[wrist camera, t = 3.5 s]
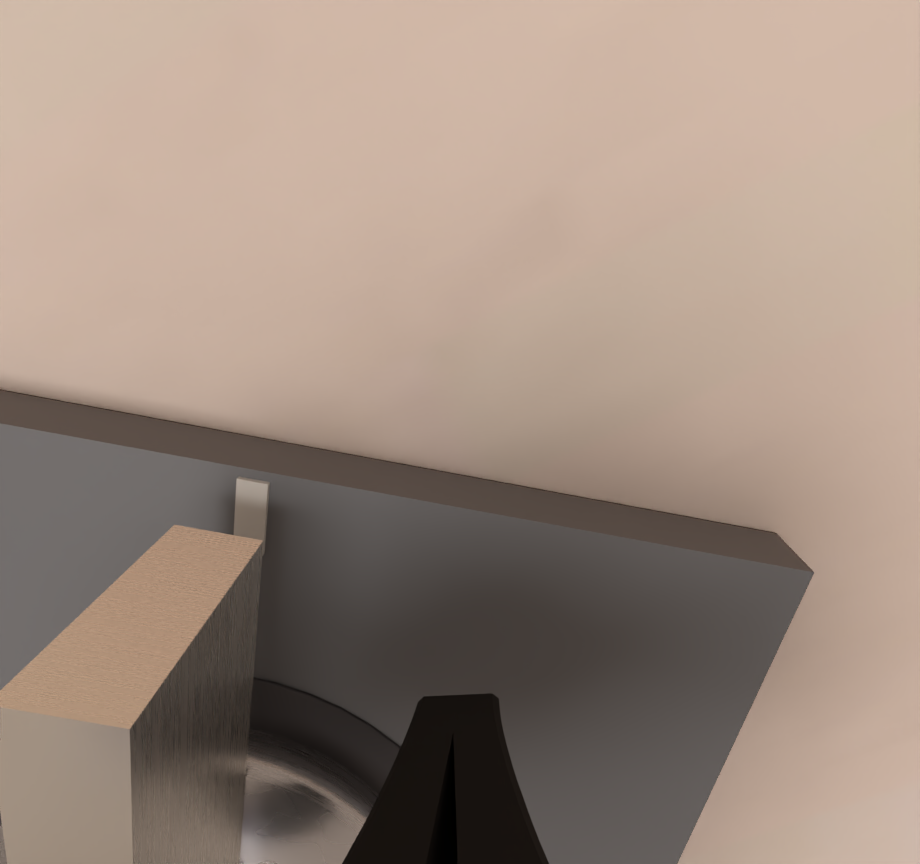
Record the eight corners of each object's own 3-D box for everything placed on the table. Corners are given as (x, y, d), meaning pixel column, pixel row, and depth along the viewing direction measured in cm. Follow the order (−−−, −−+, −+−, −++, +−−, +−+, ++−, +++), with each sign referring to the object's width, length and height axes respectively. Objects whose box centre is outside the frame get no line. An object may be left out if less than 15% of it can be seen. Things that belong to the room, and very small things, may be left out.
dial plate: (544, 1071, 20) (549, 1140, 18) (-85, 973, 19) (-133, 1035, 18) (776, 533, 12) (817, 575, 11) (-238, 346, 12) (-344, 363, 10)
